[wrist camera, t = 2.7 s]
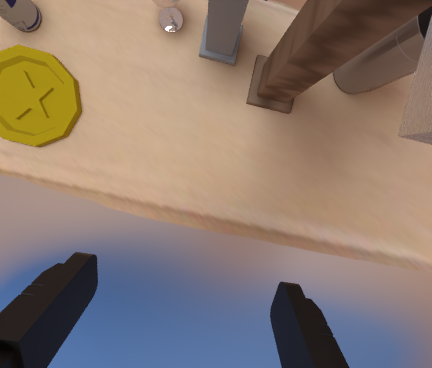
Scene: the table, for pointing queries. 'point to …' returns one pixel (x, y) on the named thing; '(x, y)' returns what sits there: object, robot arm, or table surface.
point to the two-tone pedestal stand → (324, 45)
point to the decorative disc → (36, 97)
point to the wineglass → (169, 15)
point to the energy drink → (20, 14)
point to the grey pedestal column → (223, 30)
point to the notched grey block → (420, 98)
